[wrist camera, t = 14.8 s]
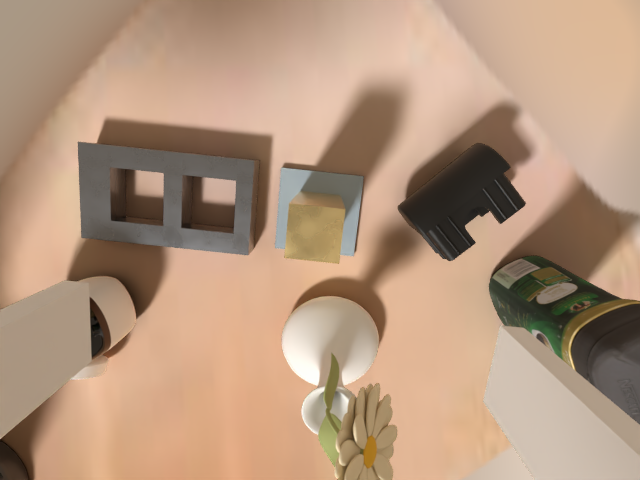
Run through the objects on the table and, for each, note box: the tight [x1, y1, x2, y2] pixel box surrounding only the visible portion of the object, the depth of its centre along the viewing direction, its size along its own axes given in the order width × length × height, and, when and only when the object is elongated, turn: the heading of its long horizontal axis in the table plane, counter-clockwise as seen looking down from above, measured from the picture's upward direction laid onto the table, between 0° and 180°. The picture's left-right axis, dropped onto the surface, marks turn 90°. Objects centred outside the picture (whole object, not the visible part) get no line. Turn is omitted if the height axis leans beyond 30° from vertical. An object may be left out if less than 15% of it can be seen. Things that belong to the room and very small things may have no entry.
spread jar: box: [70, 276, 136, 380], centre depth 38 cm, size 12×11×12 cm
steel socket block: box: [78, 142, 260, 255], centre depth 39 cm, size 18×10×3 cm, turn 84°
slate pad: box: [275, 168, 364, 256], centre depth 40 cm, size 9×9×1 cm
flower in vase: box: [282, 296, 397, 480], centre depth 32 cm, size 13×11×25 cm
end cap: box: [398, 143, 526, 261], centre depth 37 cm, size 10×7×7 cm
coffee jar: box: [489, 256, 640, 425], centre depth 33 cm, size 10×8×19 cm
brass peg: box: [284, 191, 346, 264], centre depth 34 cm, size 4×4×12 cm
